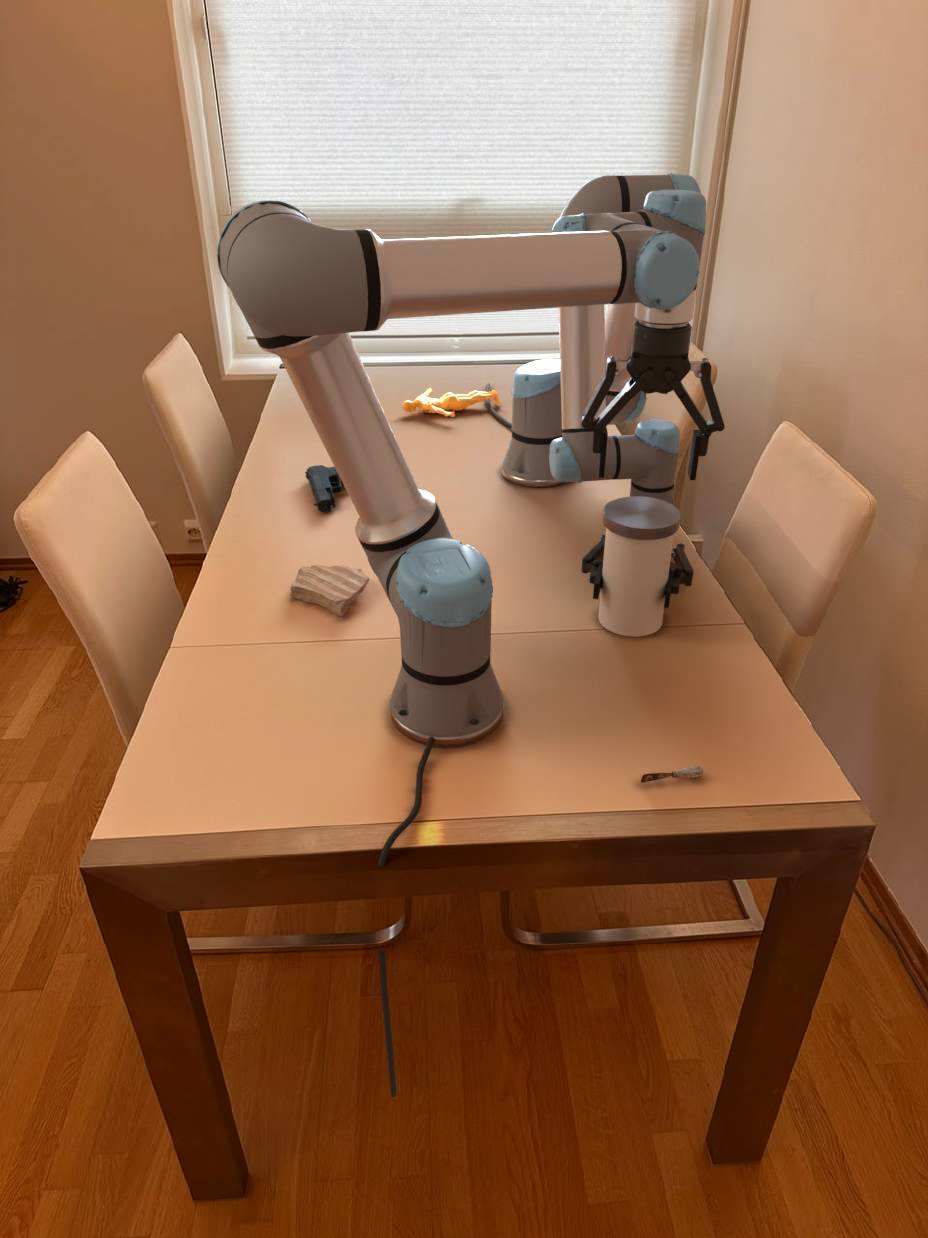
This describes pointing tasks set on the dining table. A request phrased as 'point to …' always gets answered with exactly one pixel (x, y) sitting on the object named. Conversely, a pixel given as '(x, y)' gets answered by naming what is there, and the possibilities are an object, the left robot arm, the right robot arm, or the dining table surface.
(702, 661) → the dining table surface
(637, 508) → the lid
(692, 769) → the putty knife
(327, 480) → the handgun
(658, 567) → the jar
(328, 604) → the stone
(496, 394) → the human figure
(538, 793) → the dining table surface
